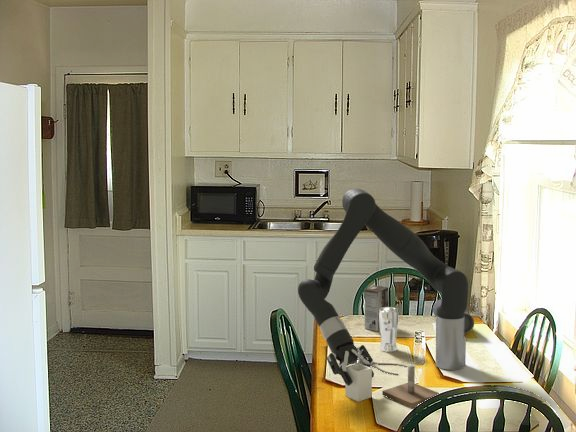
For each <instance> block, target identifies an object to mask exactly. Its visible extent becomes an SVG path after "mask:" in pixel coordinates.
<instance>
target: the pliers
mask: <svg viewBox="0 0 576 432" xmlns="http://www.w3.org/2000/svg"><path fill="white" fill-rule="evenodd" d="M357 360H359V358H358V359H357ZM362 363H363V362H362ZM373 364H378V365H373ZM397 365H399V367H403V366H404V368H407V367H408V366H409V365H405V364H402V363H401V364H399V363H390V362H375V361H372V362H371V363H370V366H372V367H371V368H373V367H374V368H373V369H375V368H377V369H378V370H377V369H376V370H377V371H379V370H380V371H379V372H381V371H382V373H384V372H385V373H384V374H387V373H388V375H392V374H393V376H399V373H394V372H390V371H386V370H383V369H382V368H380V367H378V366H397Z"/></svg>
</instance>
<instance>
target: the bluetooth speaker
mask: <svg viewBox="0 0 576 432" xmlns="http://www.w3.org/2000/svg"><path fill="white" fill-rule="evenodd" d="M441 301H442V298H440V299H437V300H436V301H435V303H434V304H433V306H432V313H433V315H434V316H435V317H436V309H437V307H438V306H439V305H441ZM474 326H475V321H474V317H473V316H472V315H471V313H469V312H468V311H466V310H465V315H464V335H466V334H468V333H470V332H471V331H473V329H474Z"/></svg>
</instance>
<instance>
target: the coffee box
mask: <svg viewBox="0 0 576 432" xmlns="http://www.w3.org/2000/svg"><path fill="white" fill-rule="evenodd" d="M389 302H390V301H389V287H388V286H382V285H376V284H375V285H373V286H370V287H368V288H366V289H364V329H365V330H369V331H370V330H371V331H376V332H380V328H379V309H380V308H382V307H390V306H389V305H390V304H389Z"/></svg>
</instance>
